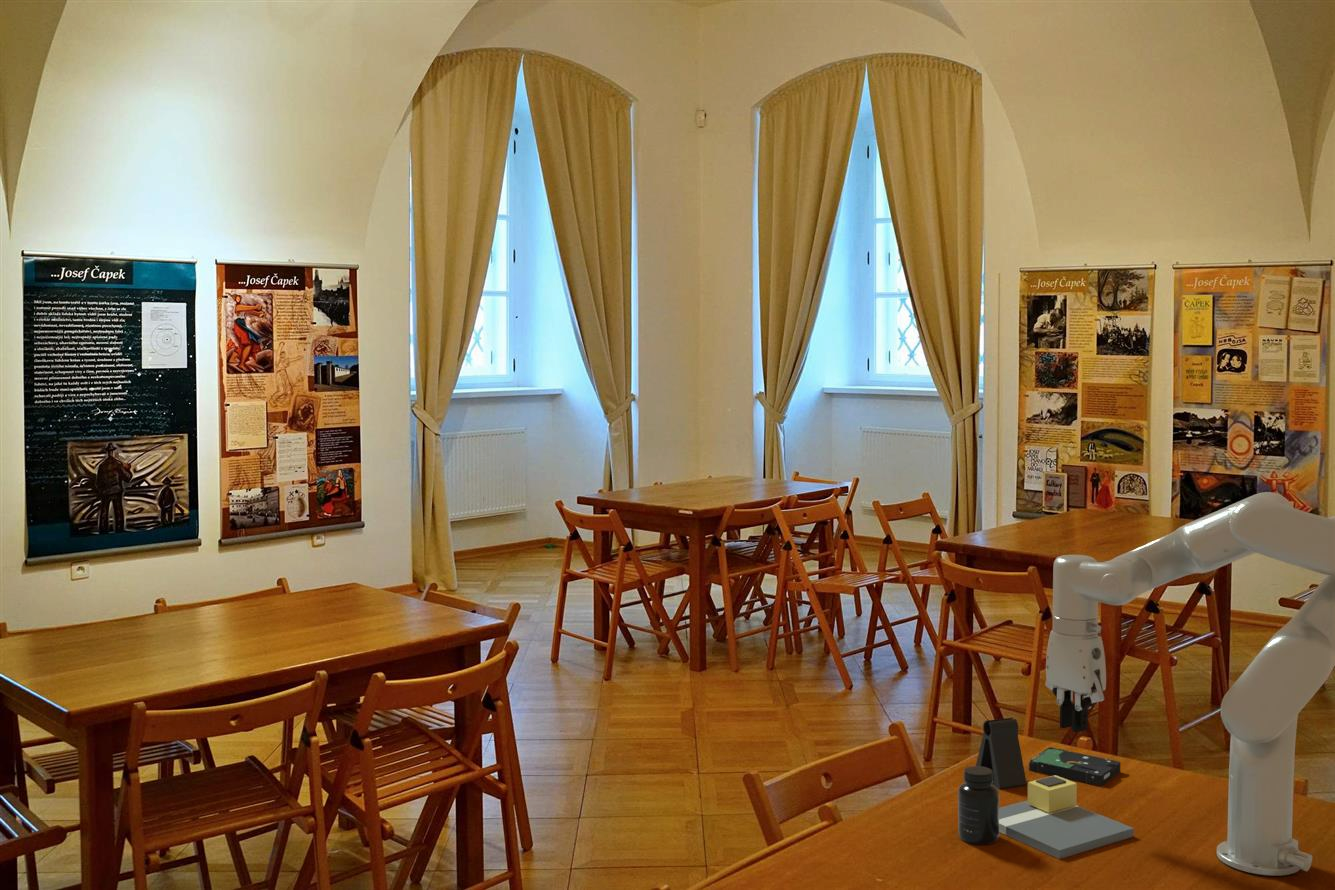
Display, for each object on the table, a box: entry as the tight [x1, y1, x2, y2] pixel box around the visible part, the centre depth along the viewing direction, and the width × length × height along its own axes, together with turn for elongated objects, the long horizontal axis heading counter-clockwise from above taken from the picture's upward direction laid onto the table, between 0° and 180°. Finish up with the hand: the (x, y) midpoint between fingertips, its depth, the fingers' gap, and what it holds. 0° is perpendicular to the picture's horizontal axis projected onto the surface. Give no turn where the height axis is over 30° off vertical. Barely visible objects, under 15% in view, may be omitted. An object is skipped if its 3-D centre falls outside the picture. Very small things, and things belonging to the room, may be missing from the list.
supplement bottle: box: [957, 765, 1000, 846], centre depth 218 cm, size 7×7×12 cm
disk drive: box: [1028, 746, 1121, 787], centre depth 251 cm, size 10×3×15 cm
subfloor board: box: [999, 799, 1135, 860], centre depth 222 cm, size 19×18×2 cm
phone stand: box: [975, 717, 1028, 790], centre depth 246 cm, size 9×6×12 cm, turn 18°
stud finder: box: [1027, 775, 1078, 813], centre depth 228 cm, size 5×7×4 cm
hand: (1073, 728), depth 223 cm, fingers closed
